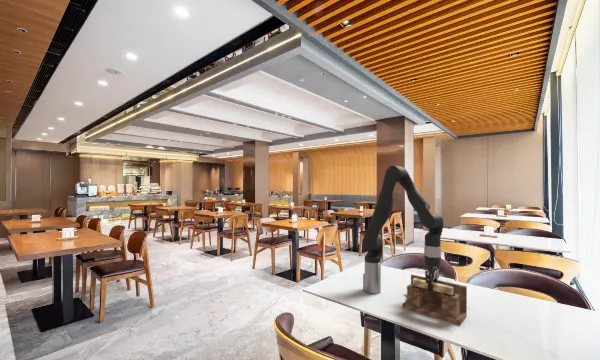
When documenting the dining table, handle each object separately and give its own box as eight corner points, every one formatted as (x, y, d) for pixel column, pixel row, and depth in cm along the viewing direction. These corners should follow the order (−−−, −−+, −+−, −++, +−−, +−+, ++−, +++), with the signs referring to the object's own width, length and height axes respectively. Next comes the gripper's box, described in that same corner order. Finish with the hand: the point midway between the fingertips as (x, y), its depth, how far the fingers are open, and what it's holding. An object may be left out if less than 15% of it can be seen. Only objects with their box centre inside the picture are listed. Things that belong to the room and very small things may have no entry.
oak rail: (412, 294, 142) (412, 279, 142) (414, 292, 144) (414, 278, 144) (451, 304, 130) (451, 288, 130) (453, 302, 132) (453, 286, 132)
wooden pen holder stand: (402, 307, 143) (402, 279, 143) (411, 300, 152) (411, 274, 152) (460, 325, 125) (460, 293, 125) (466, 315, 134) (466, 286, 134)
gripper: (429, 251, 145) (429, 284, 145) (419, 256, 135) (419, 291, 134) (445, 253, 140) (445, 287, 140) (436, 259, 130) (436, 295, 129)
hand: (432, 289), depth 137 cm, fingers open, 6 cm apart
